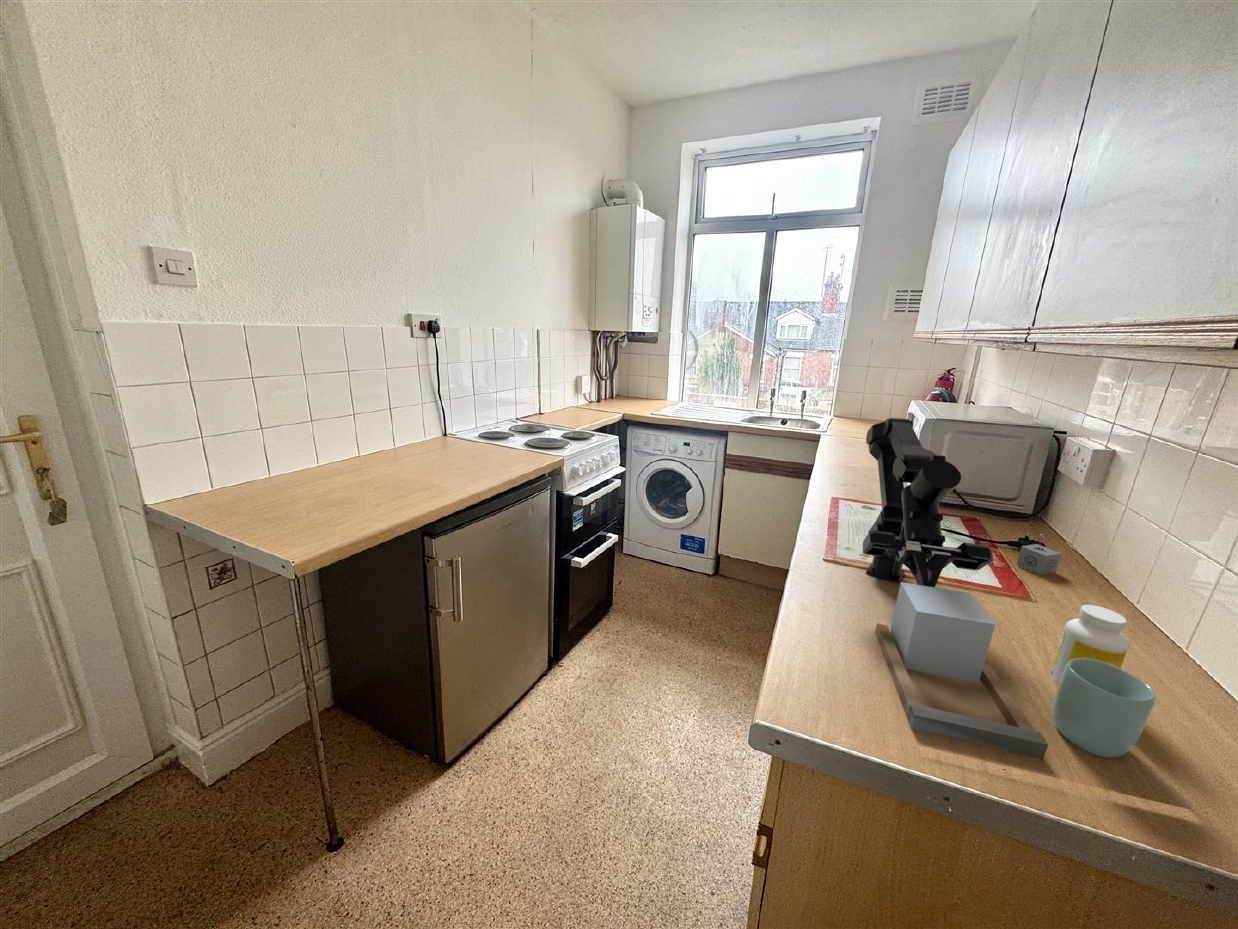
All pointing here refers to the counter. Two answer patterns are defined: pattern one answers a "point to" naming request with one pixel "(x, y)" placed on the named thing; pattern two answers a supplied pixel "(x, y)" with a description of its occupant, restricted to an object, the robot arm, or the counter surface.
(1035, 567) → the dice cube
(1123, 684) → the cup
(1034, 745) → the chute
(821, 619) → the counter surface
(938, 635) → the block
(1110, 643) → the supplement bottle
